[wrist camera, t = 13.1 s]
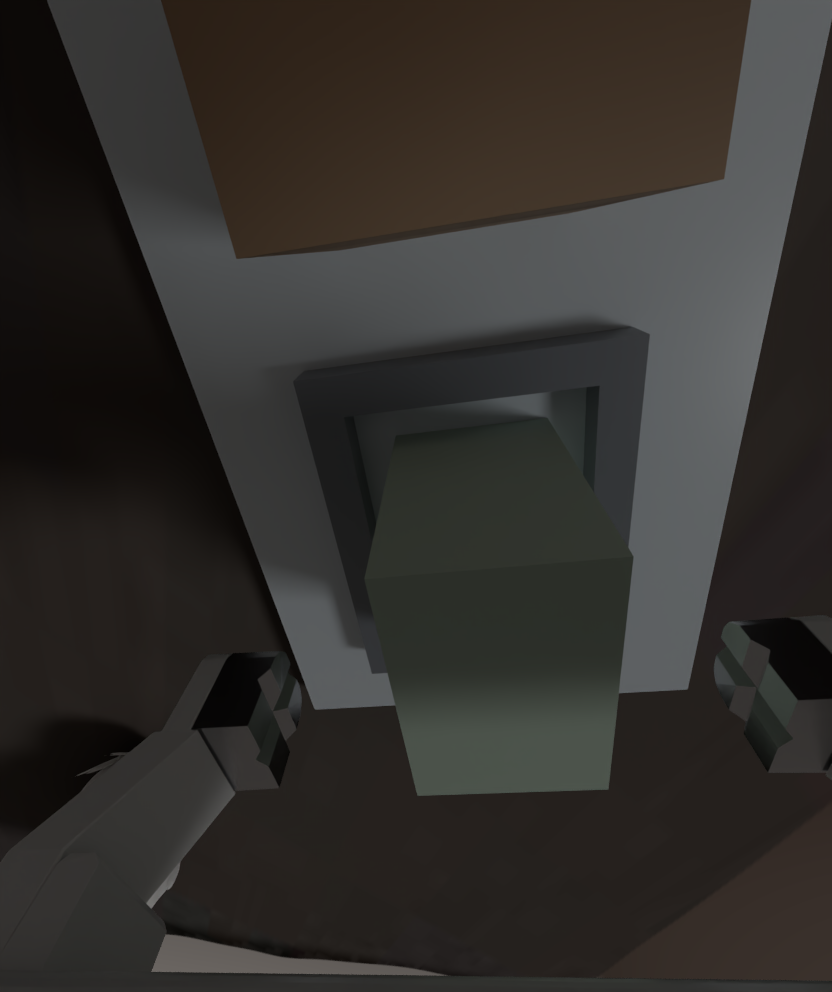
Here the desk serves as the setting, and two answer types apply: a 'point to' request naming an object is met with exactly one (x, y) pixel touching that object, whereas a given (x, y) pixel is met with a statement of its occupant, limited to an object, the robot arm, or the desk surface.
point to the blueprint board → (460, 260)
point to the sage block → (499, 611)
